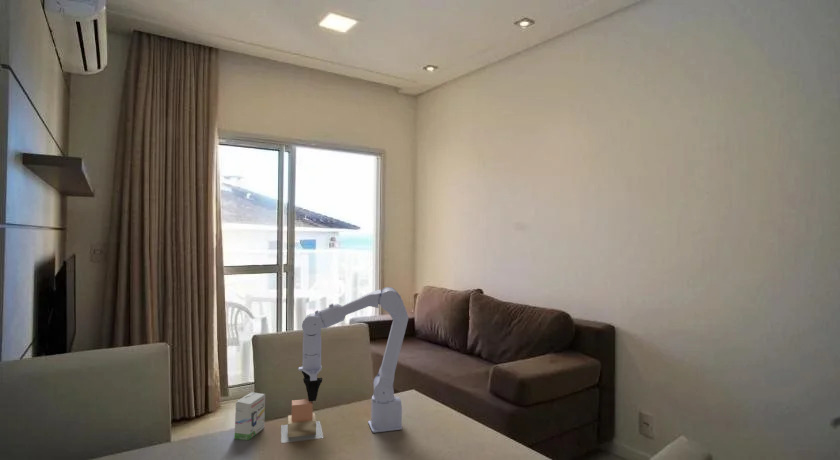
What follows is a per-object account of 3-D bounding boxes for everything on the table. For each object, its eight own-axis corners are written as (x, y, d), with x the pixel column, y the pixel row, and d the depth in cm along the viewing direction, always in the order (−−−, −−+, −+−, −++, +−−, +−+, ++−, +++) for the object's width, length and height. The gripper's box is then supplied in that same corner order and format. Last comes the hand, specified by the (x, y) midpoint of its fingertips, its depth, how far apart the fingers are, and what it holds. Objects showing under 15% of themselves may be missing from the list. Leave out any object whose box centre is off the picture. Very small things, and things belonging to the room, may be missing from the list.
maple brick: (314, 425, 140) (314, 412, 140) (315, 434, 134) (316, 420, 134) (287, 428, 138) (288, 415, 138) (288, 437, 132) (288, 423, 132)
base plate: (319, 424, 144) (320, 420, 144) (323, 441, 132) (323, 437, 132) (280, 428, 140) (281, 425, 140) (281, 446, 128) (281, 443, 128)
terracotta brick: (311, 414, 139) (311, 398, 139) (312, 419, 135) (312, 403, 135) (291, 416, 137) (291, 400, 137) (291, 422, 133) (292, 405, 133)
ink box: (250, 429, 139) (250, 391, 139) (265, 431, 138) (265, 392, 138) (233, 442, 131) (234, 401, 131) (249, 444, 130) (250, 403, 130)
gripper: (297, 347, 145) (297, 389, 145) (300, 360, 132) (299, 406, 132) (319, 346, 148) (319, 387, 148) (324, 358, 134) (323, 403, 134)
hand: (311, 396), depth 140 cm, fingers open, 7 cm apart
